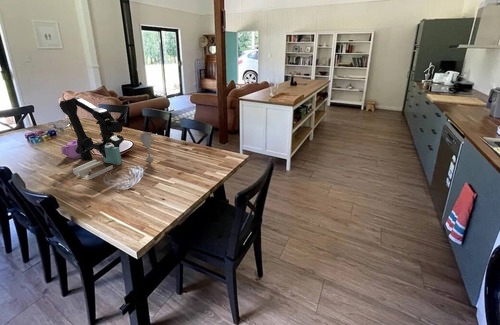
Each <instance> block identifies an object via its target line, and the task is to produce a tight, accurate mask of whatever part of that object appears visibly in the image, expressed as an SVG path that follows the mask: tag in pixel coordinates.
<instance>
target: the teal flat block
mask: <svg viewBox="0 0 500 325" xmlns="http://www.w3.org/2000/svg"><path fill="white" fill-rule="evenodd" d="M105 148H106V149H105V153H106V158H104V157H103V156H102V158H103V161H104V162H103V163H107V164H112V165H117V166H119V165H121V164H123V160H122V159H123V158H122V156H121V152H120V146H119V147H114V145H109V144H107V145H105Z"/></svg>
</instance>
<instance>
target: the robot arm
mask: <svg viewBox="0 0 500 325" xmlns="http://www.w3.org/2000/svg"><path fill="white" fill-rule="evenodd" d="M59 102H60V103H58V104H59V107H60V109H61V111H62V113H64V114H65V115H66V116H67V117H68V120H69V122H70V124H71V126H72V128H73V131H74V133H75V134H76V138H77V139H76V140H77V145H78V147H77V149H76V150H75V151H76V153H78V154H80V155H81V160H82V161H84V162H85V161H88V162H91V161H93V160H94V159H93V154H92V151H93V150H97V151H98V152H99V153H100V154H101V155H102V158H103V157H104V158H106V153H105V149H106V148H105V145H110V144H112V146H114V147H119V148H120V146H121V144H122V143H124V142H123V141H125V138H124V137H123V136H122V134H120V133H122V131H123V125H122V124H121V123H120V122H119V121H118V120H116V119H115V117H113V116H112V114H111V113H110V111H109V110H107V109H105V108H101V107H97V106H95V105H93V104H92V103H91V102H88V101H87V100H85V99H83V98H82V97H81V96H76V97H72V98H70V99H65V100H61V101H59ZM78 107H79V108H81V109H83V110H84V111H86V112H88V113H89V114H91V115H92V117H93V118H94V119H95V120H96V122H95V124H96V125H98V126H99V130H100V132H99V135H100V136H101V138H102V139H101V140H100V141H101V142H99V141H98V142H94V141H93V139H92V136H88V135H87V134H86V132H85V129H84V127H83V124H82V122H81V120H80V118H79V115H78V109H79V108H78ZM115 133H116V134H117V133H118V134H117V135H115ZM89 137H90V138H89ZM104 158H103V159H104Z"/></svg>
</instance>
